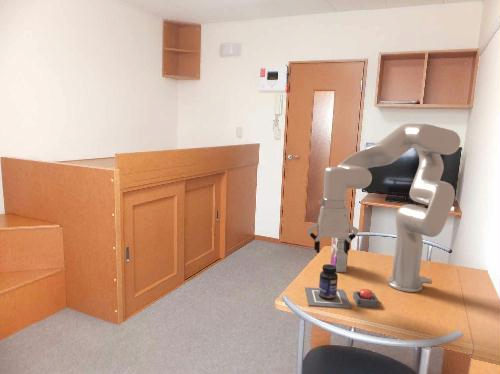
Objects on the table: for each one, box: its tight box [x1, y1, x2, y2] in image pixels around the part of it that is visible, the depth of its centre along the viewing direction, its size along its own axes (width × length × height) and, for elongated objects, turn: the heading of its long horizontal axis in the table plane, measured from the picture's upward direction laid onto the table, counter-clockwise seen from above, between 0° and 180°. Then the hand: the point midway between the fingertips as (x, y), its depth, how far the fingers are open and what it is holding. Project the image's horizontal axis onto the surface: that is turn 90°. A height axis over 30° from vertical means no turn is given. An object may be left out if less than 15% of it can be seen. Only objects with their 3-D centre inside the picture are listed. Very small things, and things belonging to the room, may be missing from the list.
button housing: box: [352, 290, 380, 308], centre depth 131 cm, size 7×7×2 cm
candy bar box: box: [330, 238, 349, 273], centre depth 161 cm, size 11×5×16 cm, turn 179°
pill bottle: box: [318, 263, 339, 300], centre depth 132 cm, size 6×6×11 cm
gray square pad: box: [304, 286, 352, 310], centre depth 133 cm, size 14×14×1 cm
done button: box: [360, 288, 373, 299], centre depth 130 cm, size 4×4×2 cm
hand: (331, 252), depth 131 cm, fingers open, 9 cm apart
